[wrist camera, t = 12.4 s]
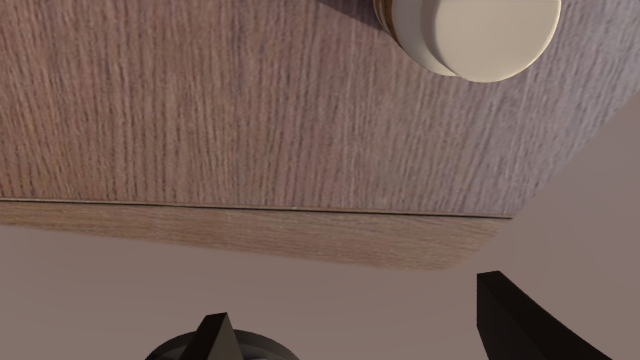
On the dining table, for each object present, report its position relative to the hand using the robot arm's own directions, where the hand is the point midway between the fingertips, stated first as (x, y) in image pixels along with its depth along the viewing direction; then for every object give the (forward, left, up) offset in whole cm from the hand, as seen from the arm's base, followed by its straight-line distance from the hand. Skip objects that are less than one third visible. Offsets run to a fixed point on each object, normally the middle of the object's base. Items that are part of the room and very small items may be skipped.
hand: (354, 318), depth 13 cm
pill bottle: (+7, -5, -11) cm, 14 cm away
